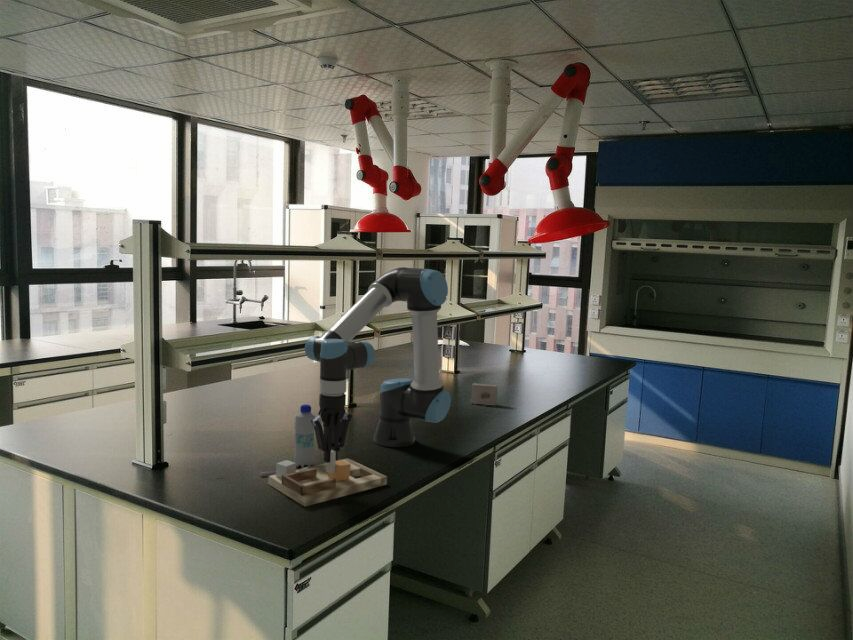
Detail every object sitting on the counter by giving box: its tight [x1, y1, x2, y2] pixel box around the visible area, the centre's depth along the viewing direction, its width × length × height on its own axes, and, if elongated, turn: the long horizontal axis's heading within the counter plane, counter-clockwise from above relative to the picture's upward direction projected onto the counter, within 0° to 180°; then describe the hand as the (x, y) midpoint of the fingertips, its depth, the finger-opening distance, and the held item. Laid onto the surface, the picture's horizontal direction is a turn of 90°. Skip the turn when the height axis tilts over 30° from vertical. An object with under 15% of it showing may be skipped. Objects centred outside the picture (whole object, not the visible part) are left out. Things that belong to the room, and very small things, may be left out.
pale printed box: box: [470, 382, 498, 406], centre depth 301 cm, size 12×4×10 cm, turn 81°
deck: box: [267, 457, 388, 507], centre depth 192 cm, size 28×20×3 cm
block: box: [275, 459, 297, 478], centre depth 190 cm, size 4×4×4 cm
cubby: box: [282, 468, 336, 496], centre depth 184 cm, size 11×11×2 cm
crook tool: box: [259, 470, 276, 478], centre depth 197 cm, size 10×4×1 cm, turn 117°
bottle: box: [293, 404, 316, 469], centre depth 206 cm, size 7×7×20 cm
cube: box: [328, 459, 351, 481], centre depth 191 cm, size 4×4×4 cm
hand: (330, 472), depth 189 cm, fingers closed
